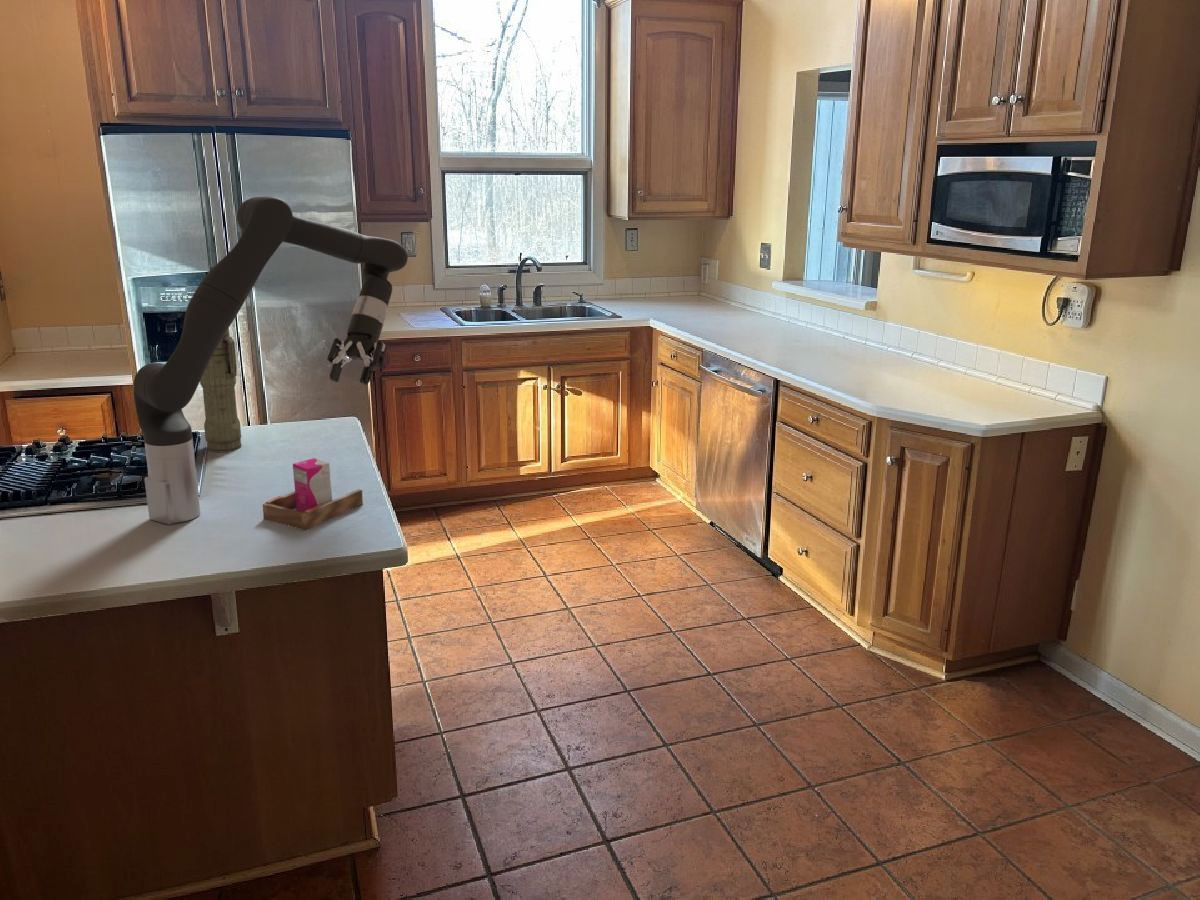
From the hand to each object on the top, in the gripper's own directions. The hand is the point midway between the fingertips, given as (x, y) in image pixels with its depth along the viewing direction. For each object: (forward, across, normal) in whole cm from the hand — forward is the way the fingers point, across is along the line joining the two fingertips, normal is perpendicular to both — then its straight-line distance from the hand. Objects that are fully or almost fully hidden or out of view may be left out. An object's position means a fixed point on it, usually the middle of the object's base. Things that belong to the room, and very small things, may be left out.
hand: (348, 382), depth 210 cm
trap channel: (+31, +2, -1) cm, 31 cm away
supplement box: (+32, +2, -1) cm, 32 cm away
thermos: (+15, -50, +19) cm, 55 cm away
